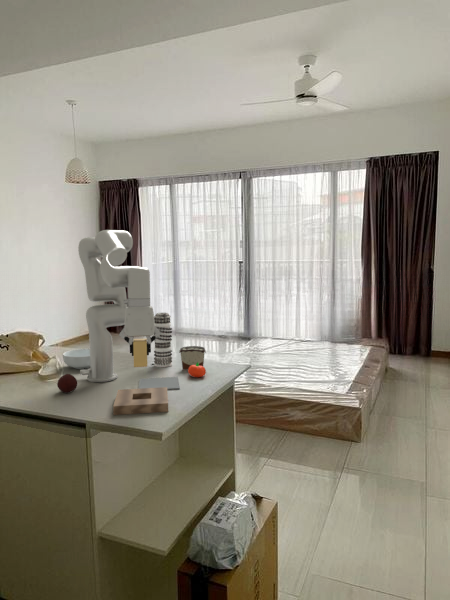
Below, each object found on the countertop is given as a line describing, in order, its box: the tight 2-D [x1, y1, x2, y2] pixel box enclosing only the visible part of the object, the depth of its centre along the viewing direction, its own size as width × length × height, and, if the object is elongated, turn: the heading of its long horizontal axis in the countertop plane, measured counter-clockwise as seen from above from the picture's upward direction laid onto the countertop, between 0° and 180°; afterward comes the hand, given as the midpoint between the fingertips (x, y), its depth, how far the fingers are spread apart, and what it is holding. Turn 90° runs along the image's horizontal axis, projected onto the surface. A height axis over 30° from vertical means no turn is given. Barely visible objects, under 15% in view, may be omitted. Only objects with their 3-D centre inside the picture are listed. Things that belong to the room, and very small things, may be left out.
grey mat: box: [137, 376, 180, 391], centre depth 179 cm, size 16×16×1 cm
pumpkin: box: [187, 363, 207, 378], centre depth 190 cm, size 7×8×6 cm
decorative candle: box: [153, 312, 173, 368], centre depth 209 cm, size 9×9×25 cm
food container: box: [178, 345, 207, 371], centre depth 203 cm, size 12×6×10 cm, turn 84°
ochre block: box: [133, 338, 148, 368], centre depth 154 cm, size 4×4×9 cm
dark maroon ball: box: [56, 373, 78, 394], centre depth 169 cm, size 7×8×7 cm
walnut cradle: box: [112, 387, 169, 416], centre depth 155 cm, size 18×18×3 cm
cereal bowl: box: [62, 348, 90, 370], centre depth 208 cm, size 17×17×7 cm
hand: (140, 354), depth 154 cm, fingers closed on ochre block, 4 cm apart
